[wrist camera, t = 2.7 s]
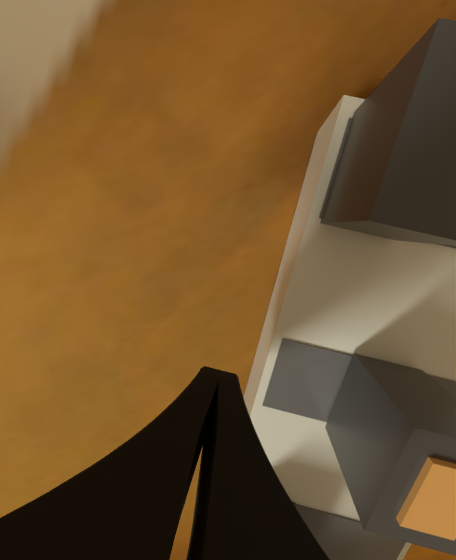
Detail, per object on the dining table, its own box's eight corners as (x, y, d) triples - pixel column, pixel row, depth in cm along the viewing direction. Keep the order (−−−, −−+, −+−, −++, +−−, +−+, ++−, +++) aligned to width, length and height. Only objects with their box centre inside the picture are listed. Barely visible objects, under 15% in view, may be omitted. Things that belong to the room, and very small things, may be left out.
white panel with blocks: (358, 516, 17) (441, 740, 10) (220, 479, 17) (199, 667, 10) (520, 175, 12) (984, 86, 4) (317, 132, 12) (424, -19, 5)
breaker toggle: (387, 443, 11) (466, 565, 7) (325, 427, 11) (367, 538, 7) (422, 370, 10) (533, 462, 6) (353, 353, 11) (419, 433, 6)
